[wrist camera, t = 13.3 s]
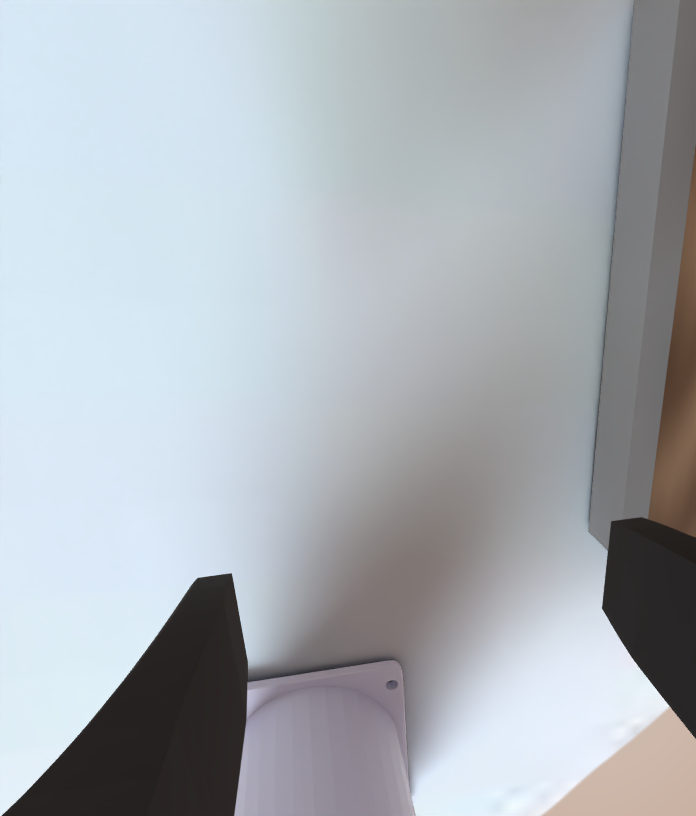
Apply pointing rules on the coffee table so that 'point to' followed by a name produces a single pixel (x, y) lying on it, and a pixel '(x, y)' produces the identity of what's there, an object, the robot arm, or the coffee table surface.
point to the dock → (645, 257)
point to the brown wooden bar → (679, 399)
